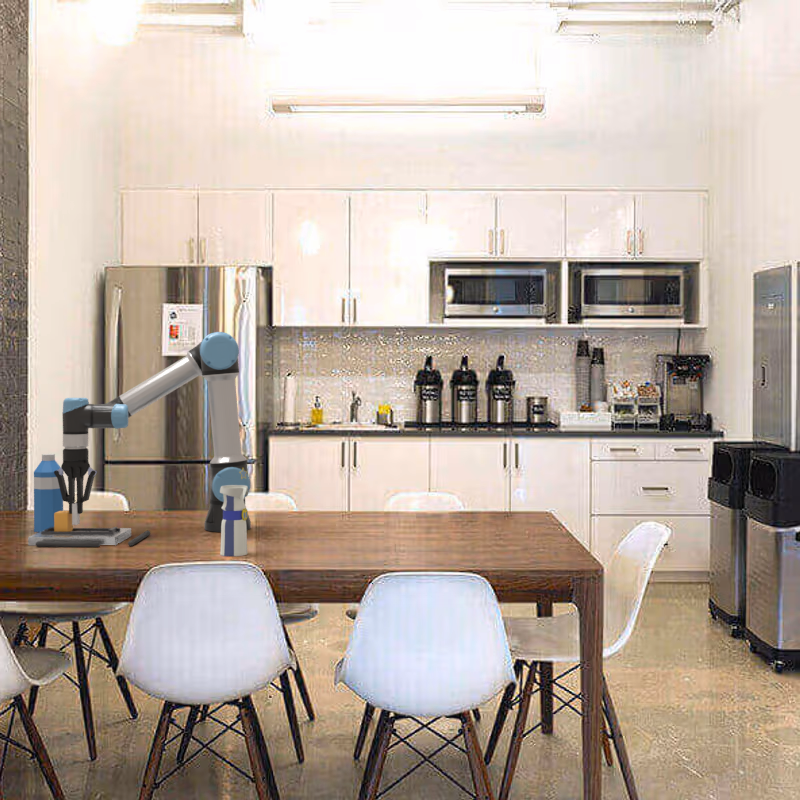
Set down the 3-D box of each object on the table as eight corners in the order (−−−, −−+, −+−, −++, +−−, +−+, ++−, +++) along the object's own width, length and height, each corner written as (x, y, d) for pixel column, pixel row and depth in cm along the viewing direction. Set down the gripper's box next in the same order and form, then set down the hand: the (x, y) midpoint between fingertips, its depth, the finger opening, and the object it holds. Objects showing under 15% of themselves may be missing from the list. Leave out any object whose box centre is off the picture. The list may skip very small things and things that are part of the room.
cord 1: (100, 546, 301) (99, 541, 300) (98, 547, 299) (98, 542, 299) (36, 546, 301) (36, 541, 301) (34, 547, 299) (34, 541, 299)
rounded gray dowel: (145, 535, 321) (145, 530, 321) (150, 535, 321) (150, 530, 321) (127, 546, 300) (127, 541, 300) (132, 546, 300) (132, 541, 300)
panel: (131, 535, 320) (131, 524, 320) (115, 545, 302) (115, 532, 302) (49, 535, 320) (49, 523, 320) (28, 545, 302) (28, 532, 302)
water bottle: (54, 533, 326) (53, 455, 325) (28, 532, 328) (27, 455, 327) (69, 528, 335) (68, 453, 334) (43, 527, 337) (43, 453, 336)
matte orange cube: (72, 530, 314) (72, 510, 314) (67, 532, 309) (67, 513, 309) (59, 530, 314) (59, 510, 314) (54, 532, 309) (54, 513, 309)
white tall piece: (253, 551, 292) (253, 465, 292) (242, 556, 284) (242, 468, 283) (227, 550, 294) (226, 465, 294) (215, 555, 286) (215, 467, 285)
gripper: (100, 447, 314) (100, 522, 315) (58, 446, 314) (58, 522, 315) (93, 448, 307) (93, 526, 307) (50, 448, 307) (50, 525, 307)
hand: (75, 524), depth 311 cm, fingers closed
